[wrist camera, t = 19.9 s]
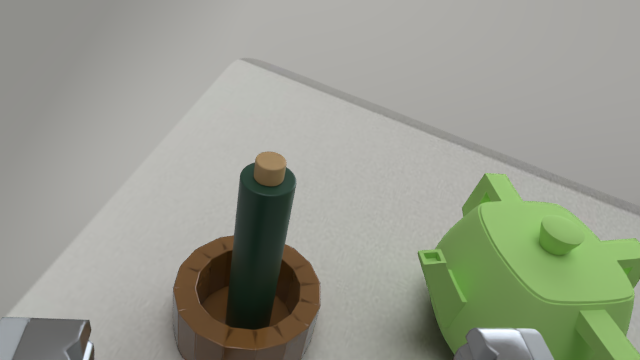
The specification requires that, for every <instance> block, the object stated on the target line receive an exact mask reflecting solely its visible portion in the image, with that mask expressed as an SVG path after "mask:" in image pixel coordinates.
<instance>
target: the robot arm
mask: <svg viewBox="0 0 640 360" xmlns="http://www.w3.org/2000/svg"><path fill="white" fill-rule="evenodd" d="M90 333H91V326H90V321H89V320H76V319H45V318H20V317H2V318H1V320H0V360H94V345H93V343H92V342H91V341H89V336H90ZM465 337H466V340H467V343H466V344H464V345H462V346H461V347H459V348H458V349H457V351H456V353H455V355H454V357H453V360H554V358H553V356H552V354H551V352H550V351H549V349H548V347H547V345H546V343H545V341H544V339H543V337H542V336H541V334H540V333H539V332H538V331H537V330H536V329H531V328H473V329H470V330H469V331H468V333H467V335H466V336H465Z"/></svg>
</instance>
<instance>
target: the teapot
mask: <svg viewBox="0 0 640 360" xmlns="http://www.w3.org/2000/svg"><path fill="white" fill-rule="evenodd" d="M462 211H463V218H462V219H461V220H460V221H458V222H457V223H456V224H455V225H454V226H453V227H452V228H451V229H450V230H449V231H448V232H447V233H446V234H445V236H444V237H443V238H442V240H441V241H440V242H439V244H438V245H437V247H436V248H435V250H422V251H418V257H419V260H420V263H421V267H422V270H423V273H424V277H425V280H426V284H427V287H428V290H429V294H430V299H431V303H432V307H433V310H434V314H435V317H436V320H437V323H438V325H439V328H440V330H441V332H442V334H443V336H444V338H445V340H446V342H447V344H448V345H449V347H450V349H451V350H452V352H453V354H454V355H455V353H456V351H457V349H458V348H459V347H461V346H462V345H464V344H466V343H467V340H466V337H465V336H466V335H467V333H468V331H469V330H470V329H473V328H531V329H536V330H537V331H538V332H539V333H540V334H541V336H542V337H543V339H544V341H545V343H546V345H547V347H548V349H549V351H550V352H551V354H552V356H553V358H554V360H640V354H639V353H638V352H637V350H636V349H635V348H634V347H633V345H632V344H631V343H630V341H629V340H628V339H627V338H626V334H627V331H628V327H629V323H630V319H631V314H632V310H633V303H634V290H633V289H634V287H635V286H636V284H637V282H638V281H639V279H640V243H639V241H638V240H637V239H636V238H633V239H620V240H608V241H600V239H599V238H598V237H597V236H596V235H595V234H594V233H593V232H592V231H591V230H590V229H589V228H588V227H587V226H586V225H585V224H584V223H583V222H582V221H580V220H579V219H578V218H577V217H576V216H575V215H574V214H572V213H571V212H570V211H568V210H567V209H565V208H563V207H562V206H560V205H557V204H553V203H546V202H534V201H523V200H522V199H521V197H520V196H519V194H518V193H517V191H516V190H515V188H514V187H513V185H512V183H511V182H510V180H509V179H508V177H507V176H506V174H490V173H485V174H484V176H483V177H482V179H481V180H480V182H479V183H478V185H477V186H476V188H475V189H474V191H473V192H472V194H471V195H470V197H469V198H468V200H467V201H466V203H465V204H464V206H463V207H462Z"/></svg>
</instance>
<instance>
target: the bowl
mask: <svg viewBox="0 0 640 360" xmlns="http://www.w3.org/2000/svg"><path fill="white" fill-rule="evenodd" d="M233 241H234V236H227V237H220V238H218V239H216V240H214V241H212V242H210V243H207V244H205V245H203V246H201V247H199V248H197V249H196V250H195V251H194V252H193V253H192V254H191V255H190V256H189V257H188V258H187V259H186V260H185V261H184V262H183V264H182V265H181V266H180V268H179V271H178V274H177V277H176V280H175V284H174V287H173V328H174V333H175V340H176V343H177V347H178V349H179V351H180V353H181V355H182V356H183V358H184V359H185V360H301V358H302V357H303V355H304V354H305V352H306V349H307V347H308V345H309V343H310V341H311V337H312V334H313V330H314V327H315V323H316V320H317V316H318V312H319V309H320V289H321V285H320V281H319V279H318V277H317V275H316V273H315V271H314V269H313V267H312V265H311V264H310V262H309V261H307V260H306V259H305V258H304V257H303V256H302V255H301V254H300V253H299V252H297V251H296V250H295V249H294V248H292V247H290V246H288V245H286V244H285V246H284V251H283V256H282V261H281V267H280V272H279V277H278V282H277V288H276V293H275V298H274V304H273V309H272V314H271V319H270V325H269V327H265V328H261V329H256V330H251V329H242V328H233V327H230V326H228V325H226V324H225V320H226V310H227V300H228V290H229V281H230V271H231V261H232V251H233Z"/></svg>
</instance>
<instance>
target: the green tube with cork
mask: <svg viewBox="0 0 640 360" xmlns="http://www.w3.org/2000/svg"><path fill="white" fill-rule="evenodd" d="M295 188H296V178H295V175H294V174H293V173H292V171H290V170H289V169H288V168H287V167H286V160H285V158H284V157H283V156H282V155H280V154H278V153H275V152H263V153H260V154H259V155H258V156H257V157H256V159H255V163H252V164H250V165H248V166H246V167H245V168H244V169H243V170H242V172H241V174H240V182H239V192H238V202H237V212H236V222H235V231H234V241H233V251H232V261H231V271H230V281H229V290H228V300H227V310H226V320H225V324H226V325H228V326H230V327H233V328H242V329H251V330H256V329H261V328H265V327H269V325H270V319H271V314H272V309H273V304H274V298H275V293H276V288H277V282H278V277H279V272H280V267H281V261H282V256H283V251H284V246H285V240H286V235H287V230H288V225H289V219H290V214H291V209H292V203H293V198H294V193H295Z"/></svg>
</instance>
